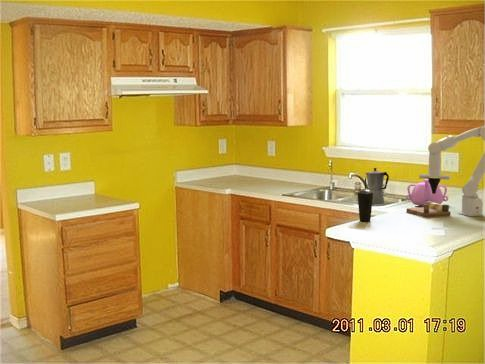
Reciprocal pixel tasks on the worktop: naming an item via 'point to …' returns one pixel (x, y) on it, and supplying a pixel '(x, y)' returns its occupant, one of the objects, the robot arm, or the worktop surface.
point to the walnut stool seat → (427, 211)
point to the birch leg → (438, 206)
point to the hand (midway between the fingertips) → (434, 193)
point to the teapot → (425, 194)
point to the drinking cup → (365, 204)
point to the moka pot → (377, 185)
